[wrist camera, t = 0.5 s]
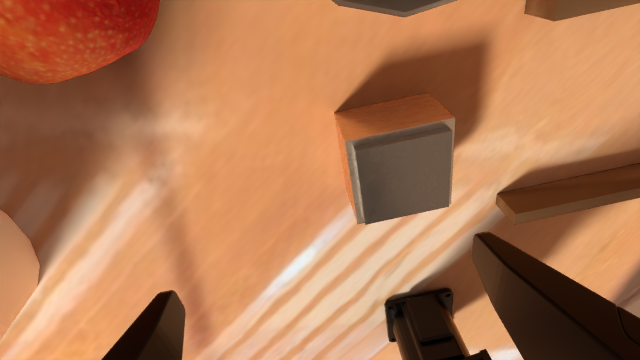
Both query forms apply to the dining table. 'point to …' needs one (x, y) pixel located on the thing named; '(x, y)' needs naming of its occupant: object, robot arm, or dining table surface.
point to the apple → (69, 36)
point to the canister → (15, 271)
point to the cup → (393, 6)
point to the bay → (576, 192)
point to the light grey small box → (397, 157)
